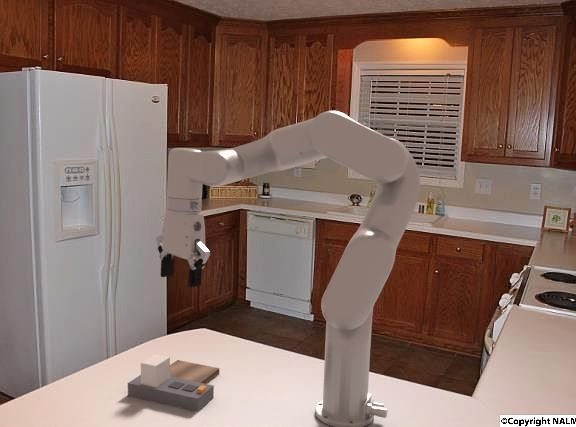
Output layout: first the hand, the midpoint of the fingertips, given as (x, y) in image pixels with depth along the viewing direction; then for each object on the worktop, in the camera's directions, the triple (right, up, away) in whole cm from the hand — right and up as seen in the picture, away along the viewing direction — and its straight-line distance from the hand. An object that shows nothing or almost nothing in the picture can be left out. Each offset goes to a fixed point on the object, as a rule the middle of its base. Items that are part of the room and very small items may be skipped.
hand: (180, 281), depth 128 cm
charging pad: (0, -25, +12) cm, 28 cm away
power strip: (-2, -26, +1) cm, 26 cm away
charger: (-6, -24, +3) cm, 25 cm away
